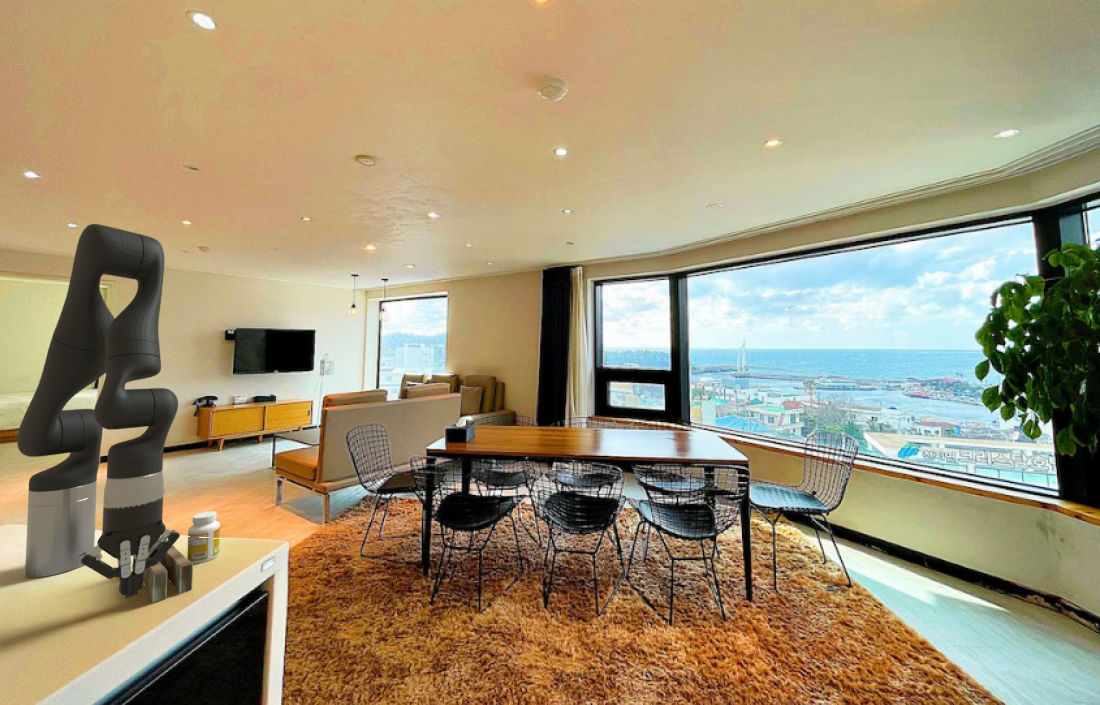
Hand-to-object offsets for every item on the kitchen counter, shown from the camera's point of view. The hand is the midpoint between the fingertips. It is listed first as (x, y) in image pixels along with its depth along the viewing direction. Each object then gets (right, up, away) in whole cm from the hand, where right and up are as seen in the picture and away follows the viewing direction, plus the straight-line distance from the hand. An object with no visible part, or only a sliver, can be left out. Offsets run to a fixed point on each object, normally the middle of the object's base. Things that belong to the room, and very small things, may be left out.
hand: (130, 594), depth 71 cm
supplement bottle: (-2, -2, +17) cm, 17 cm away
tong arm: (-1, -2, +5) cm, 5 cm away
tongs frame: (-2, -2, +8) cm, 8 cm away
